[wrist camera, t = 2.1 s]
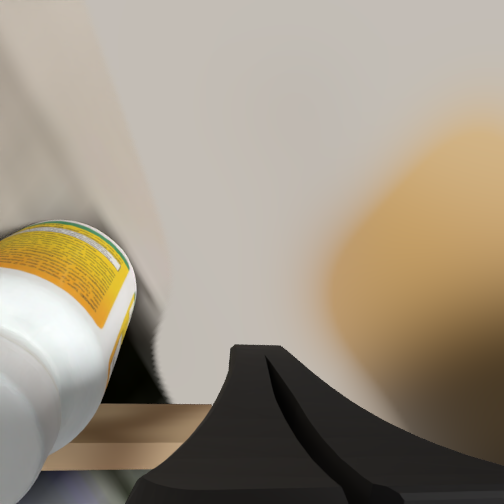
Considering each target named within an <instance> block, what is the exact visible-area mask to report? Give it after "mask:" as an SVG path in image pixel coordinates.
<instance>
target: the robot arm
mask: <svg viewBox="0 0 504 504" xmlns="http://www.w3.org/2000/svg"><path fill="white" fill-rule="evenodd" d="M125 504H504V466H502V465H499V464H496V463H492V462H488V461H485V460H481V459H478V458H475V457H471V456H468V455H465V454H462V453H459V452H456V451H454V450H451V449H448V448H446V447H442V446H440V445H437V444H435V443H432V442H430V441H427V440H425V439H422V438H420V437H418V436H415V435H413V434H411V433H409V432H407V431H405V430H403V429H400V428H398V427H396V426H394V425H392V424H390V423H388V422H386V421H384V420H382V419H380V418H379V417H377V416H375V415H373V414H372V413H370V412H368V411H367V410H365V409H363V408H361V407H360V406H358V405H357V404H355V403H353V402H352V401H350V400H349V399H347V398H346V397H344V396H343V395H342V394H340V393H339V392H337V391H336V390H335V389H333V388H332V387H330V386H329V385H328V384H327V383H325V382H324V381H323V380H321V379H320V378H319V377H318V376H316V375H315V374H314V373H313V372H311V371H310V370H309V369H308V368H307V367H305V366H304V365H303V364H302V363H301V362H300V361H298V360H297V359H296V358H295V357H294V356H293V355H291V354H290V353H289V352H288V351H287V350H285V349H284V348H283V347H281V346H276V345H234V346H233V347H232V348H231V349H230V360H229V371H228V374H227V377H226V380H225V382H224V384H223V386H222V389H221V391H220V393H219V395H218V397H217V399H216V401H215V403H214V404H213V406H212V407H211V409H210V411H209V412H208V414H207V415H206V417H205V418H204V419H203V421H202V422H201V423H200V425H199V426H198V427H197V428H196V430H195V431H194V432H193V433H192V434H191V436H190V437H189V438H188V439H187V440H186V441H185V442H184V443H183V444H182V445H181V446H180V447H179V448H178V449H177V450H176V451H175V452H174V453H173V454H172V455H170V456H169V457H168V458H167V459H166V460H165V461H164V462H162V463H161V464H160V465H158V466H157V467H155V468H154V469H152V470H151V471H150V472H148V473H147V474H145V475H143V476H142V477H141V478H139V479H138V480H137V482H136V484H135V485H134V487H133V489H132V491H131V493H130V495H129V497H128V499H127V501H126V503H125Z"/></svg>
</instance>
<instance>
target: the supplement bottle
mask: <svg viewBox="0 0 504 504" xmlns="http://www.w3.org/2000/svg"><path fill="white" fill-rule="evenodd" d="M135 300H136V280H135V275H134V271H133V268H132V266H131V263H130V261H129V259H128V257H127V256H126V254H125V253H124V251H123V250H122V249H121V248H120V247H119V246H118V245H117V244H116V243H115V242H114V241H113V240H112V239H110V238H109V237H108V236H107V235H105V234H104V233H102V232H101V231H99V230H97V229H95V228H93V227H91V226H89V225H86V224H83V223H80V222H76V221H70V220H49V221H43V222H38V223H35V224H32V225H30V226H27V227H25V228H23V229H21V230H19V231H17V232H16V233H14V234H12V235H10V236H8V237H6V238H5V239H3V240H1V241H0V504H16V503H17V502H18V501H19V500H20V499H21V498H22V497H23V496H24V495H25V494H26V493H27V492H28V491H29V490H30V488H31V487H32V485H33V483H34V482H35V480H36V479H37V477H38V475H39V473H40V471H41V469H42V467H43V465H44V463H45V461H46V458H47V456H49V455H50V454H52V453H54V452H56V451H58V450H59V449H61V448H62V447H64V446H65V445H67V444H68V443H69V442H71V441H72V440H73V439H74V438H75V437H76V436H77V435H78V434H79V433H80V432H81V431H82V430H83V429H84V428H85V427H86V426H87V424H88V423H89V422H90V420H91V419H92V418H93V416H94V414H95V413H96V411H97V409H98V407H99V405H100V403H101V400H102V398H103V395H104V393H105V390H106V387H107V385H108V382H109V379H110V376H111V373H112V370H113V367H114V364H115V361H116V359H117V356H118V353H119V349H120V347H121V344H122V341H123V338H124V335H125V333H126V330H127V327H128V324H129V322H130V318H131V315H132V312H133V309H134V305H135Z"/></svg>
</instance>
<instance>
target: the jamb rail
mask: <svg viewBox="0 0 504 504" xmlns="http://www.w3.org/2000/svg"><path fill="white" fill-rule="evenodd" d="M211 407H212V405H211V404H100V405H99V407H98V409H97V411H96V413H95V414H94V416H93V418H92V419H91V420H90V422H89V423H88V424H87V426H86V427H85V428H84V429H83V430H82V431H81V432H80V433H79V434H78V435H77V436H76V437H75V438H74V439H73V440H72V441H71V442H69V443H68V444H67V445H65V446H64V447H62V448H61V449H59V450H58V451H56V452H54V453H52V454H50V455H49V456H47V458H46V461H45V463H44V465H43V467H42V469H41V471H46V470H117V469H154V468H155V467H157V466H158V465H160V464H161V463H162V462H164V461H165V460H166V459H167V458H168V457H169V456H170V455H172V454H173V453H174V452H175V451H176V450H177V449H178V448H179V447H180V446H181V445H182V444H183V443H184V442H185V441H186V440H187V439H188V438H189V437H190V436H191V434H192V433H193V432H194V431H195V430H196V428H197V427H198V426H199V425H200V423H201V422H202V421H203V419H204V418H205V417H206V415H207V414H208V412H209V411H210V409H211Z"/></svg>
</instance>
